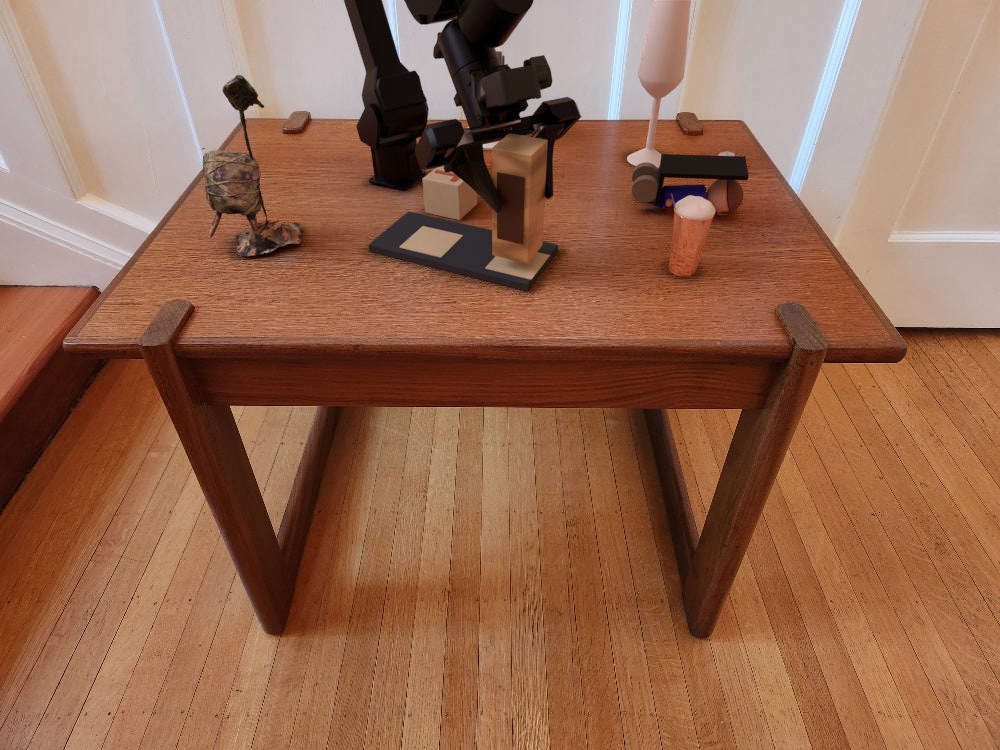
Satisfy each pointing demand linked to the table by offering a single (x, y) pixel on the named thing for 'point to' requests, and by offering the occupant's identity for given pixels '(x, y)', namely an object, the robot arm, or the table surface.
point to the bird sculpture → (243, 185)
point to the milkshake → (689, 233)
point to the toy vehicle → (720, 193)
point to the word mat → (458, 250)
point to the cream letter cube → (447, 194)
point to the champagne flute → (662, 64)
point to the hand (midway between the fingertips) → (524, 204)
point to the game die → (726, 154)
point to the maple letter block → (519, 196)
